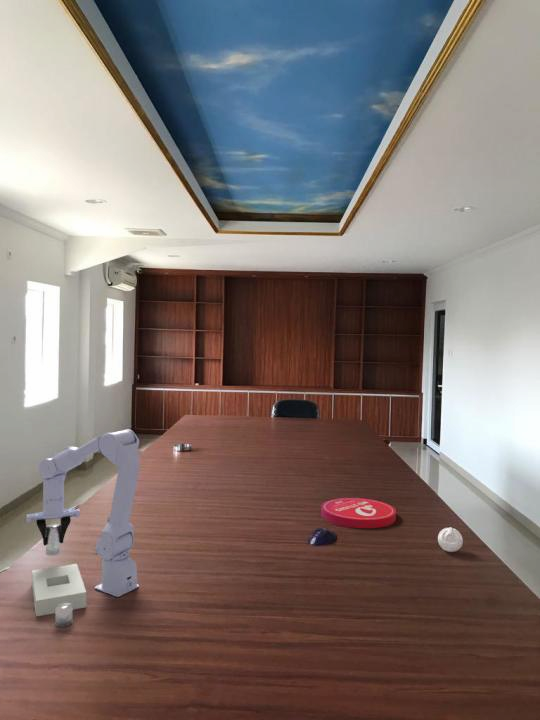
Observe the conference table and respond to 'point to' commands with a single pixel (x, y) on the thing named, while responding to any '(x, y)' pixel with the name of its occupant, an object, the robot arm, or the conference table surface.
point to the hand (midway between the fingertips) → (53, 543)
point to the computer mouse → (321, 537)
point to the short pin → (63, 614)
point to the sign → (358, 513)
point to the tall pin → (53, 539)
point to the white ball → (450, 539)
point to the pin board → (57, 588)
